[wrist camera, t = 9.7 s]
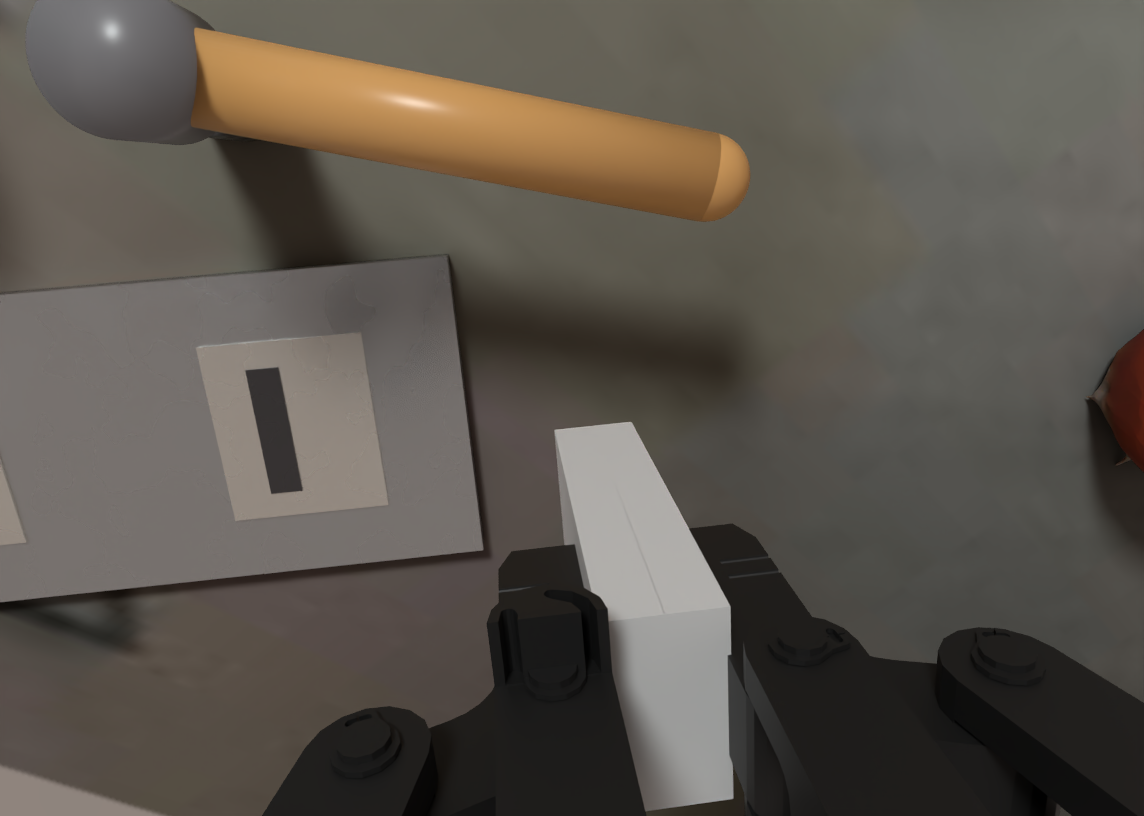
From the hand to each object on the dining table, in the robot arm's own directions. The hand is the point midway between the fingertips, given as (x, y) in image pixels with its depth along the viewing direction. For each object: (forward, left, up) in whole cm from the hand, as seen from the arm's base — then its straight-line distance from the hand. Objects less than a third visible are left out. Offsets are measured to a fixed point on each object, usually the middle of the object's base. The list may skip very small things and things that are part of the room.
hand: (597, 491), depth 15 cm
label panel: (+3, -17, -16) cm, 23 cm away
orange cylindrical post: (-8, -3, -10) cm, 13 cm away
